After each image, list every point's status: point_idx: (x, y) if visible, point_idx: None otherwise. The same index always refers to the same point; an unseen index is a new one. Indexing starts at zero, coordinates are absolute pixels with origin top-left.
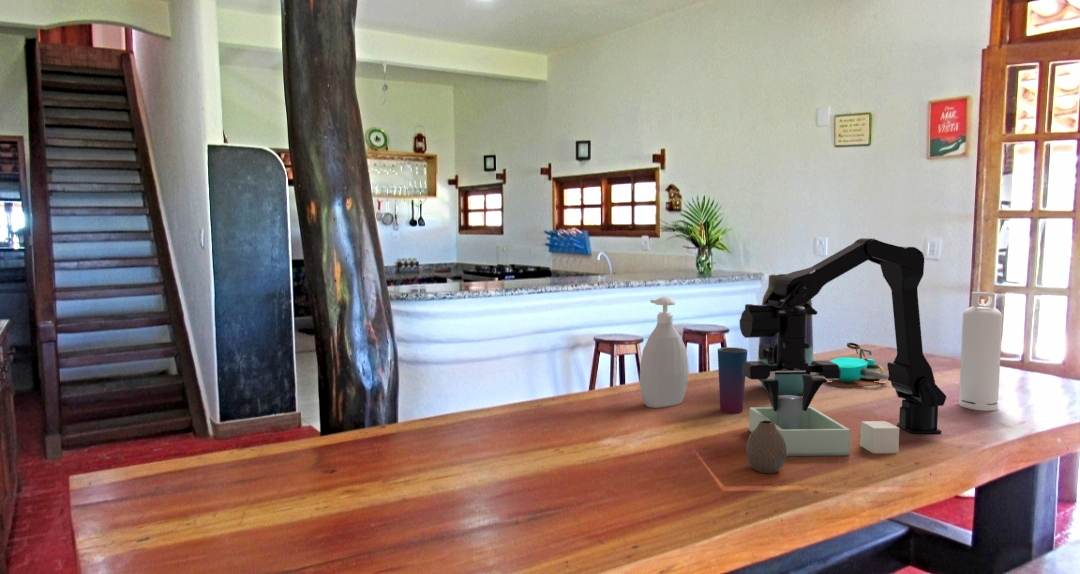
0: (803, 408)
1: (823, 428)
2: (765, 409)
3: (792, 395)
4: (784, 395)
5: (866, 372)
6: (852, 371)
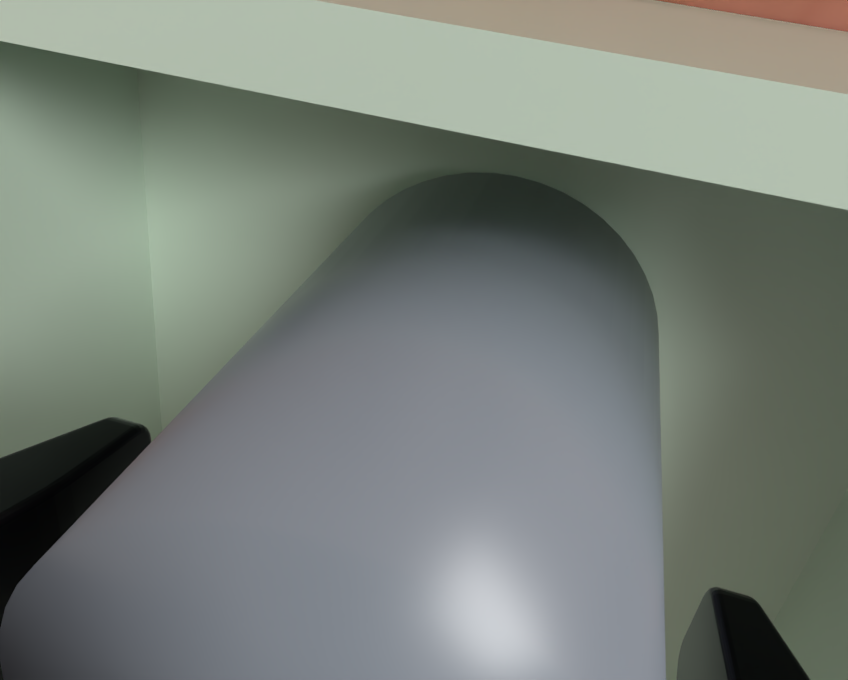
0: (693, 653)
1: (834, 647)
2: (99, 51)
3: (540, 674)
4: (261, 580)
5: None
6: None
